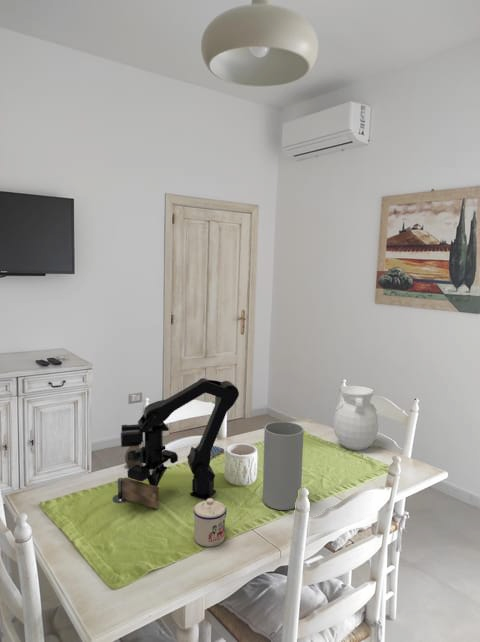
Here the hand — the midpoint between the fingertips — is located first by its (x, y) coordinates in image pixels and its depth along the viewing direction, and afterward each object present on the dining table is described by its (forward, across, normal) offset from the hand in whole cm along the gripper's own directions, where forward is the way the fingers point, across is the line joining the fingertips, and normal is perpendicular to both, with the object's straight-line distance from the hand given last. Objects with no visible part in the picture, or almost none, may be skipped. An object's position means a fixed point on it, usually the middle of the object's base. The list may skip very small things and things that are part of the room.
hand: (153, 489), depth 157 cm
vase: (+4, -16, -23) cm, 28 cm away
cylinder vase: (+4, -22, +36) cm, 42 cm away
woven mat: (+4, -41, -6) cm, 42 cm away
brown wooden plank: (+3, +5, -2) cm, 6 cm away
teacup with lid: (+4, +7, +28) cm, 29 cm away
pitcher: (+4, -81, +42) cm, 92 cm away
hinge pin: (+4, +5, -10) cm, 11 cm away
